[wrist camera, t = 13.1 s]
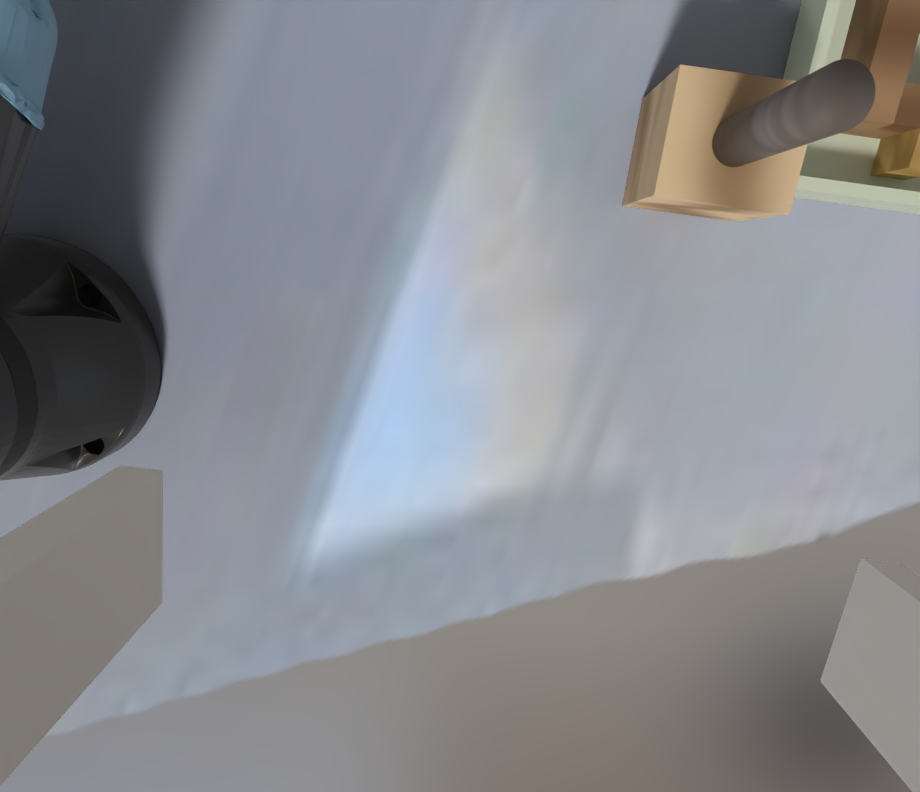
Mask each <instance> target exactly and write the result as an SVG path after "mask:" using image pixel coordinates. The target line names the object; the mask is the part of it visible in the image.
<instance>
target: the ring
mask: <svg viewBox="0 0 920 792" xmlns="http://www.w3.org/2000/svg"><path fill="white" fill-rule="evenodd" d="M919 34H920V0H856V2H855V6H854V10H853V14H852V17H851V21H850V25H849V29H848V33H847V36H846V40H845V44H844V48H843V52H842V55H841V59H852V60H856V61H859V62H861V63H862V64H864V65H865V66H866V67H867V68H868V69H869V70H870V72H871V73H872V76H873V78H874V81H875V89H876V92H875V99H874V103H873V105H872V108H871V110H870V112H869V113H868V115H867V116H866V117H865V119H864V120H863V121H862V122H861V123H860V124H858V125H857V126H856V127H854V128H852V129H850V130H848V131H845V132H842V133H841V134H848V135H855V136H862V137H869V138H876V139H880V143H879V146H878V150H877V153H876V157H875V160H874V164H873V167H872V171H871V174H870V176H877V177H885V178H892V179H899V180H907V179H912V178H918V177H920V84H914V83H907V82H906V79H907V75H908V72H909V68H910V65H911V62H912V58H913V55H914V51H915V48H916V44H917V41H918V38H919ZM841 59H840V60H841Z"/></svg>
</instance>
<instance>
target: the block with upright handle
mask: <svg viewBox="0 0 920 792" xmlns="http://www.w3.org/2000/svg"><path fill="white" fill-rule="evenodd" d="M875 92H876V89H875V81H874V78H873V76H872V73H871V72H870V70H869V69H868V68H867V67H866V66H865V65H864V64H862V63H861V62H859V61H856V60H852V59H841V60H837V61H834V62H832V63H830V64H828V65H826V66H824V67H822V68H820V69H819V70H817V71H815V72H813V73H811V74H809V75H807V76H805V77H804V78H802V79H800V80H798V81H793V80H786V79H779V78H772V77H765V76H758V75H751V74H744V73H737V72H730V71H723V70H716V69H709V68H702V67H695V66H688V65H681V64H680V65H679V66H678V67H677V68H676V69H675V70H674V71H673V72H672V73H670V74H669V75H668V76H667V77H666V78H665V79H664V80H663V81H662V82H660V83H659V84H658V85H657V86H656V87H655V88H654V89H653V90H652V91H650V92H649V93H648V94H647V95H646V96H645V97H644V98H643V99H642V104H641V109H640V115H639V120H638V125H637V131H636V136H635V141H634V146H633V152H632V157H631V162H630V167H629V173H628V178H627V183H626V188H625V194H624V199H623V204H622V206H628V207H635V208H642V209H650V210H657V211H664V212H671V213H679V214H686V215H693V216H701V217H708V218H715V219H723V220H730V221H740V220H748V219H755V218H762V217H770V216H777V215H785V214H790V210H791V206H792V202H793V199H794V195H795V191H796V187H797V183H798V179H799V175H800V172H801V168H802V164H803V160H804V156H805V152H806V148H807V145H808V144H809V143H812V142H815V141H818V140H821V139H824V138H827V137H830V136H833V135H836V134H839V133H842V132H845V131H848V130H850V129H852V128H854V127H856V126H857V125H858V124H860V123H861V122H862V121H863V120H864V119H865V117H866V116H867V115H868V113H869V112H870V110H871V108H872V105H873V103H874V99H875Z"/></svg>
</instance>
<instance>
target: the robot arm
mask: <svg viewBox="0 0 920 792" xmlns="http://www.w3.org/2000/svg"><path fill="white" fill-rule="evenodd" d="M57 41H58V28H57V22H56V17H55V15H54V12H53V9H52V7H51V4H50V2H49V0H0V480H9V479H19V478H29V477H39V476H49V475H57V474H63V473H68V472H71V471H75V470H78V469H81V468H84V467H87V466H89V465H91V464H93V463H96V462H97V461H99V460H101V459H103V458H105V457H106V456H108V455H110V454H112V453H114V452H115V451H117V450H119V449H120V448H122V447H123V446H125V445H126V444H127V443H128V442H130V441H131V440H132V439H133V438H134V437H135V436H136V435H137V434H138V432H139V431H140V430H141V429H142V427H143V426H144V425H145V423H146V422H147V420H148V418H149V417H150V414H151V412H152V410H153V408H154V405H155V403H156V399H157V396H158V391H159V386H160V375H161V366H160V354H159V349H158V344H157V340H156V336H155V333H154V330H153V328H152V325H151V323H150V320H149V318H148V316H147V314H146V312H145V310H144V309H143V307H142V305H141V304H140V302H139V301H138V299H137V298H136V296H135V295H134V293H133V292H132V291H131V290H130V288H129V287H128V286H127V285H126V284H125V283H124V281H123V280H122V279H121V278H120V277H119V276H118V275H117V274H116V273H114V272H113V271H112V270H111V269H110V268H109V267H107V266H106V265H105V264H103V263H102V262H101V261H99V260H98V259H96V258H95V257H93V256H92V255H90V254H88V253H86V252H85V251H83V250H81V249H78V248H76V247H74V246H72V245H69V244H67V243H64V242H61V241H58V240H53V239H49V238H44V237H38V236H24V235H3V234H4V230H5V227H6V224H7V221H8V217H9V214H10V211H11V207H12V204H13V201H14V198H15V195H16V192H17V189H18V186H19V183H20V180H21V177H22V174H23V171H24V168H25V165H26V162H27V159H28V156H29V153H30V150H31V146H32V143H33V140H34V137H35V134H36V131H37V130H39V131H42V129H43V127H44V123H45V118H44V116H43V115H42V108H43V103H44V98H45V94H46V89H47V85H48V80H49V75H50V71H51V67H52V63H53V59H54V55H55V51H56V47H57ZM162 527H163V471H161V470H153V469H145V468H137V467H129V466H119V467H117V468H116V469H114V470H112V471H111V472H109V473H107V474H106V475H104V476H102V477H101V478H99V479H97V480H96V481H94V482H93V483H91V484H89V485H88V486H86V487H84V488H83V489H81V490H79V491H78V492H76V493H74V494H73V495H71V496H69V497H68V498H66V499H64V500H63V501H61V502H59V503H58V504H56V505H54V506H53V507H51V508H49V509H48V510H46V511H44V512H43V513H41V514H39V515H38V516H36V517H34V518H33V519H31V520H29V521H28V522H26V523H25V524H23V525H21V526H20V527H18V528H16V529H15V530H13V531H11V532H10V533H8V534H6V535H5V536H3V537H1V538H0V786H1V785H2V783H3V782H4V781H5V780H6V779H7V778H8V777H9V775H10V774H11V773H12V772H13V771H14V770H15V769H16V767H17V766H18V765H19V764H20V763H21V762H22V761H23V760H24V758H25V757H26V756H27V755H28V754H29V753H30V752H31V750H32V749H33V748H34V747H35V746H36V745H37V744H38V743H39V741H40V740H41V739H42V738H43V737H44V736H45V735H46V733H47V732H48V731H49V730H50V729H51V728H52V727H53V726H54V724H55V723H56V722H57V721H58V720H59V719H60V718H61V716H62V715H63V714H64V713H65V712H66V711H67V710H68V709H69V707H70V706H71V705H72V704H73V703H74V702H75V701H76V699H77V698H78V697H79V696H80V695H81V694H82V693H83V691H84V690H85V689H86V688H87V687H88V686H89V685H90V684H91V682H92V681H93V680H94V679H95V678H96V677H97V676H98V674H99V673H100V672H101V671H102V670H103V669H104V668H105V667H106V665H107V664H108V663H109V662H110V661H111V660H112V659H113V657H114V656H115V655H116V654H117V653H118V652H119V651H120V650H121V648H122V647H123V646H124V645H125V644H126V643H127V642H128V640H129V639H130V638H131V637H132V636H133V635H134V634H135V633H136V631H137V630H138V629H139V628H140V627H141V626H142V625H143V623H144V622H145V621H146V620H147V619H148V618H149V617H150V615H151V614H152V613H153V612H154V611H155V610H156V609H157V608H158V606H159V605H160V604H161V603H162ZM820 681H821V683H822V684H823V685H824V686H825V687H826V689H828V691H829V692H830V693H831V695H832V696H833V697H834V698H835V699H836V700H837V702H838V703H839V704H840V705H841V707H842V708H843V709H844V710H845V711H846V713H847V714H848V715H849V716H850V717H851V719H852V720H853V721H854V722H855V723H856V725H857V726H858V727H859V728H860V729H861V731H862V732H863V733H864V734H865V735H866V737H867V738H868V739H869V740H870V741H871V743H872V744H873V745H874V746H875V747H876V749H877V750H878V751H879V752H880V753H881V755H882V756H883V757H884V758H885V759H886V761H887V762H888V763H889V764H890V765H891V766H892V768H893V769H894V770H895V771H896V773H897V774H898V775H899V776H900V777H901V779H902V780H903V781H904V782H905V783H906V785H907V786H908V787H909V788H910V789H911V791H912V792H920V576H919V575H918V574H916V573H915V572H913V571H912V570H911V569H909V568H908V567H906V566H905V565H904V564H902V563H898V562H890V561H882V560H874V559H866V558H861V561H860V564H859V567H858V570H857V573H856V576H855V579H854V582H853V585H852V589H851V591H850V594H849V597H848V600H847V603H846V606H845V609H844V612H843V615H842V618H841V621H840V624H839V627H838V630H837V632H836V635H835V639H834V641H833V645H832V647H831V651H830V654H829V656H828V660H827V662H826V665H825V668H824V671H823V674H822V677H821V680H820Z"/></svg>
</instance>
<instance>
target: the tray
mask: <svg viewBox="0 0 920 792" xmlns="http://www.w3.org/2000/svg"><path fill="white" fill-rule="evenodd" d="M855 2H856V0H802V2H801V6H800V10H799V14H798V18H797V22H796V26H795V31H794V35H793V39H792V43H791V47H790V51H789V55H788V59H787V63H786V68H785V72H784V76H783V79H786V80H793V81H798V80H800V79H802V78H804V77H805V76H807V75H809V74H811V73H813V72H815V71H817V70H819V69H820V68H822V67H824V66H826V65H828V64H830V63H832V62H834V61H837V60H840V59H841V55H842V52H843V48H844V44H845V40H846V36H847V33H848V29H849V25H850V21H851V17H852V14H853V10H854V6H855ZM906 82H907V83H914V84H920V34H919V38H918V41H917V44H916V48H915V51H914V55H913V58H912V62H911V65H910V68H909V72H908V75H907V79H906ZM879 143H880V139H876V138H869V137H862V136H855V135H848V134H841V133H839V134H836V135H833V136H830V137H827V138H824V139H821V140H818V141H815V142H812V143H809V144H808V145H807V148H806V152H805V156H804V160H803V164H802V168H801V172H800V175H799V179H798V183H797V187H796V191H795V195H794V198H801V199H809V200H816V201H823V202H830V203H838V204H845V205H852V206H859V207H867V208H874V209H881V210H888V211H896V212H903V213H910V214H917V215H920V177H918V178H912V179H907V180H899V179H892V178H885V177H877V176H870V174H871V171H872V167H873V164H874V160H875V157H876V153H877V150H878V146H879Z"/></svg>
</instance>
